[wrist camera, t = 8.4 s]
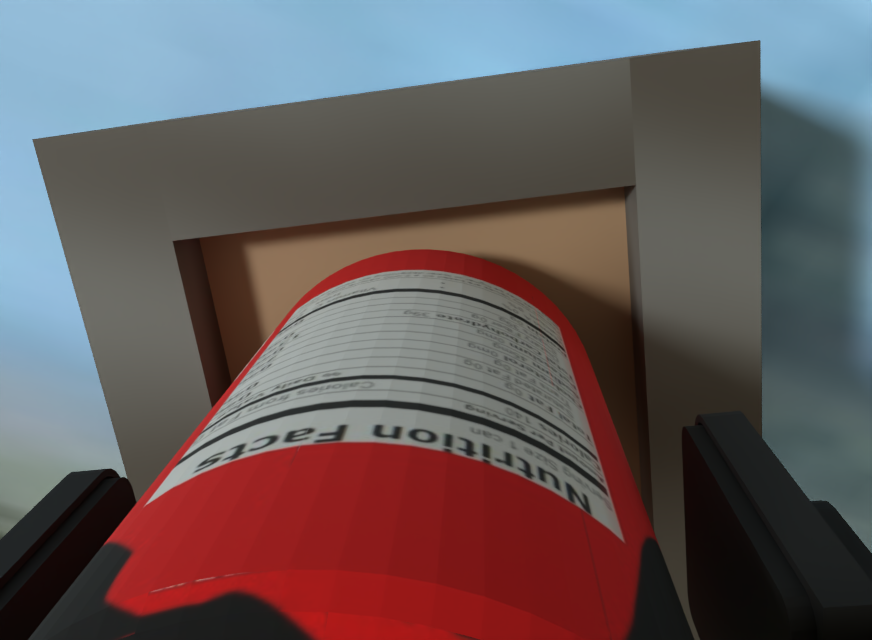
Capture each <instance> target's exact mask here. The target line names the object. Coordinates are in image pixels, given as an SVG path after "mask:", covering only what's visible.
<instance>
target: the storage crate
mask: <svg viewBox="0 0 872 640" xmlns="http://www.w3.org/2000/svg"><path fill="white" fill-rule="evenodd" d="M32 140H33V143H34V147H35V150H36V154H37V157H38V161H39V165H40V168H41V172H42V175H43V179H44V182H45V186H46V190H47V193H48V197H49V200H50V204H51V207H52V211H53V214H54V218H55V222H56V225H57V229H58V232H59V236H60V239H61V243H62V246H63V250H64V254H65V257H66V261H67V264H68V268H69V271H70V275H71V279H72V282H73V286H74V289H75V293H76V296H77V300H78V303H79V307H80V311H81V314H82V318H83V321H84V325H85V328H86V332H87V335H88V339H89V343H90V346H91V350H92V353H93V357H94V360H95V364H96V368H97V371H98V375H99V378H100V382H101V385H102V389H103V392H104V396H105V400H106V403H107V407H108V410H109V414H110V417H111V421H112V424H113V428H114V432H115V435H116V439H117V442H118V446H119V449H120V453H121V457H122V460H123V464H124V467H125V471H126V474H127V478H128V480H129V482H130V483H131V486H132V488H133V492H134V495H135V499H136V502H138V501H139V500H140V498H141V497H142V496H143V495H144V493H145V492H146V491H147V490H148V488H149V487H150V486H151V484H152V483H153V482H154V481H155V479H156V478H157V477H158V476H159V474H160V473H161V472H162V471H163V469H164V468H165V467H166V466H167V464H168V463H169V462H170V461H171V459H172V458H173V457H174V456H175V454H176V453H177V452H178V451H179V449H180V448H181V447H182V446H183V444H184V443H185V442H186V441H187V439H188V438H189V437H190V436H191V434H192V433H193V432H194V431H195V429H196V428H197V427H198V426H199V424H200V423H201V422H202V421H203V419H204V418H205V417H206V416H207V414H208V413H209V412H210V410H211V409H212V408H213V407H214V405H215V404H216V403H217V402H218V400H219V399H220V398H221V397H222V395H223V394H224V393H225V392H226V390H227V389H228V388H229V387H230V385H231V384H232V383H233V382H234V380H235V379H236V378H237V377H238V375H239V374H240V373H241V372H242V370H243V369H244V368H245V367H246V365H247V364H248V363H249V362H250V360H251V359H252V358H253V357H254V355H255V354H256V353H257V352H258V350H259V349H260V348H261V347H262V345H263V344H264V343H265V342H266V340H267V339H268V338H269V336H270V335H271V334H272V333H273V331H274V330H275V329H276V328H277V326H278V325H279V324H280V323H281V321H282V320H283V319H284V318H285V316H286V315H287V314H288V313H289V311H290V310H291V309H292V308H293V307H294V306H295V304H296V303H297V302H298V301H299V300H300V299H301V298H302V297H303V296H304V295H305V294H306V293H307V292H309V291H310V290H311V289H312V288H313V287H314V286H315V285H317V284H318V283H320V282H321V281H323V280H324V279H325V278H327V277H328V276H330V275H331V274H333V273H335V272H337V271H339V270H340V269H342V268H344V267H346V266H349V265H351V264H353V263H355V262H358V261H360V260H363V259H366V258H370V257H373V256H376V255H380V254H385V253H389V252H394V251H403V250H414V249H432V250H444V251H452V252H457V253H463V254H467V255H471V256H474V257H478V258H481V259H484V260H487V261H489V262H492V263H494V264H497V265H499V266H501V267H503V268H505V269H507V270H509V271H511V272H513V273H515V274H517V275H518V276H520V277H521V278H523V279H525V280H526V281H528V282H529V283H531V284H532V285H533V286H534V287H536V288H537V289H538V290H540V291H541V292H542V293H543V294H544V295H545V296H547V297H548V298H549V299H550V300H551V301H552V302H553V303H554V304H555V305H556V306H557V307H558V309H559V310H560V311H561V312H562V313H563V315H564V316H565V317H566V318H567V320H568V321H569V322H570V324H571V325H572V327H573V328H574V330H575V331H576V333H577V335H578V337H579V338H580V340H581V342H582V344H583V346H584V348H585V350H586V353H587V355H588V358H589V360H590V363H591V365H592V368H593V371H594V373H595V376H596V379H597V381H598V384H599V387H600V389H601V392H602V395H603V397H604V400H605V403H606V405H607V408H608V411H609V413H610V416H611V419H612V421H613V424H614V427H615V429H616V432H617V435H618V437H619V440H620V443H621V445H622V448H623V451H624V453H625V456H626V459H627V461H628V464H629V467H630V469H631V472H632V475H633V477H634V480H635V483H636V485H637V488H638V491H639V493H640V496H641V499H642V501H643V504H644V507H645V509H646V512H647V515H648V517H649V520H650V523H651V525H652V528H653V531H654V533H655V536H656V538H657V541H658V544H659V546H660V549H661V552H662V554H663V557H664V560H665V562H666V565H667V568H668V570H669V573H670V576H671V578H672V581H673V584H674V586H675V589H676V592H677V594H678V597H679V600H680V602H681V605H682V608H683V610H684V613H685V616H686V618H687V621H688V624H689V626H690V629H691V632H692V634H693V637H694V640H700V638H699V636H698V633H697V630H696V628H695V625H694V623H693V619H692V616H691V612H690V607H689V601H688V592H687V568H686V541H685V515H684V488H683V462H682V428H683V427H684V426H695V420H696V417H697V415H699V414H710V413H721V412H732V411H741V412H742V413H743V414H744V415H745V417H746V418H747V419H748V420H749V422H750V423H751V424H752V426H753V427H754V428H755V430H756V431H757V432H758V434H759V435H760V436H761V437H762V355H761V92H760V40H759V41H751V42H742V43H734V44H726V45H717V46H709V47H701V48H693V49H684V50H676V51H668V52H660V53H653V54H646V55H638V56H631V57H624V58H616V59H609V60H602V61H594V62H587V63H580V64H572V65H565V66H558V67H550V68H543V69H536V70H528V71H521V72H514V73H506V74H499V75H492V76H484V77H477V78H470V79H462V80H455V81H448V82H440V83H433V84H426V85H418V86H411V87H404V88H396V89H389V90H382V91H374V92H367V93H360V94H352V95H345V96H338V97H331V98H323V99H316V100H309V101H301V102H294V103H287V104H279V105H272V106H265V107H257V108H250V109H243V110H235V111H228V112H221V113H213V114H206V115H199V116H191V117H184V118H177V119H169V120H163V121H156V122H149V123H142V124H135V125H128V126H121V127H115V128H108V129H101V130H94V131H87V132H80V133H73V134H67V135H60V136H53V137H46V138H39V139H32Z"/></svg>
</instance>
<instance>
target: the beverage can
mask: <svg viewBox="0 0 872 640" xmlns="http://www.w3.org/2000/svg"><path fill="white" fill-rule="evenodd" d="M28 640H694V637H693V634H692V632H691V629H690V626H689V624H688V621H687V618H686V616H685V613H684V610H683V608H682V605H681V602H680V600H679V597H678V594H677V592H676V589H675V586H674V584H673V581H672V578H671V576H670V573H669V570H668V568H667V565H666V562H665V560H664V557H663V554H662V552H661V549H660V546H659V544H658V541H657V538H656V536H655V533H654V531H653V528H652V525H651V523H650V520H649V517H648V515H647V512H646V509H645V507H644V504H643V501H642V499H641V496H640V493H639V491H638V488H637V485H636V483H635V480H634V477H633V475H632V472H631V469H630V467H629V464H628V461H627V459H626V456H625V453H624V451H623V448H622V445H621V443H620V440H619V437H618V435H617V432H616V429H615V427H614V424H613V421H612V419H611V416H610V413H609V411H608V408H607V405H606V403H605V400H604V397H603V395H602V392H601V389H600V387H599V384H598V381H597V379H596V376H595V373H594V371H593V368H592V365H591V363H590V360H589V358H588V355H587V353H586V350H585V348H584V346H583V344H582V342H581V340H580V338H579V337H578V335H577V333H576V331H575V330H574V328H573V327H572V325H571V324H570V322H569V321H568V320H567V318H566V317H565V316H564V315H563V313H562V312H561V311H560V310H559V309H558V307H557V306H556V305H555V304H554V303H553V302H552V301H551V300H550V299H549V298H548V297H547V296H545V295H544V294H543V293H542V292H541V291H540V290H538V289H537V288H536V287H534V286H533V285H532V284H531V283H529V282H528V281H526V280H525V279H523V278H521V277H520V276H518V275H517V274H515V273H513V272H511V271H509V270H507V269H505V268H503V267H501V266H499V265H497V264H494V263H492V262H489V261H487V260H484V259H481V258H478V257H474V256H471V255H467V254H463V253H457V252H452V251H444V250H432V249H414V250H403V251H394V252H389V253H385V254H380V255H376V256H373V257H370V258H366V259H363V260H360V261H358V262H355V263H353V264H351V265H349V266H346V267H344V268H342V269H340V270H339V271H337V272H335V273H333V274H331V275H330V276H328V277H327V278H325V279H324V280H323V281H321V282H320V283H318V284H317V285H315V286H314V287H313V288H312V289H311V290H310V291H309V292H307V293H306V294H305V295H304V296H303V297H302V298H301V299H300V300H299V301H298V302H297V303H296V304H295V306H294V307H293V308H292V309H291V310H290V311H289V313H288V314H287V315H286V316H285V318H284V319H283V320H282V321H281V323H280V324H279V325H278V326H277V328H276V329H275V330H274V331H273V333H272V334H271V335H270V336H269V338H268V339H267V340H266V342H265V343H264V344H263V345H262V347H261V348H260V349H259V350H258V352H257V353H256V354H255V355H254V357H253V358H252V359H251V360H250V362H249V363H248V364H247V365H246V367H245V368H244V369H243V370H242V372H241V373H240V374H239V375H238V377H237V378H236V379H235V380H234V382H233V383H232V384H231V385H230V387H229V388H228V389H227V390H226V392H225V393H224V394H223V395H222V397H221V398H220V399H219V400H218V402H217V403H216V404H215V405H214V407H213V408H212V409H211V410H210V412H209V413H208V414H207V416H206V417H205V418H204V419H203V421H202V422H201V423H200V424H199V426H198V427H197V428H196V429H195V431H194V432H193V433H192V434H191V436H190V437H189V438H188V439H187V441H186V442H185V443H184V444H183V446H182V447H181V448H180V449H179V451H178V452H177V453H176V454H175V456H174V457H173V458H172V459H171V461H170V462H169V463H168V464H167V466H166V467H165V468H164V469H163V471H162V472H161V473H160V474H159V476H158V477H157V478H156V479H155V481H154V482H153V483H152V484H151V486H150V487H149V488H148V490H147V491H146V492H145V493H144V495H143V496H142V497H141V498H140V500H139V501H138V502H137V503H136V505H135V506H134V507H133V508H132V510H131V511H130V512H129V513H128V515H127V516H126V517H125V518H124V520H123V521H122V522H121V523H120V525H119V526H118V527H117V528H116V530H115V531H114V532H113V533H112V535H111V536H110V537H109V538H108V540H107V541H106V542H105V543H104V545H103V546H102V547H101V548H100V550H99V551H98V552H97V553H96V555H95V556H94V557H93V558H92V560H91V561H90V562H89V564H88V565H87V566H86V567H85V569H84V570H83V571H82V572H81V574H80V575H79V576H78V577H77V579H76V580H75V581H74V582H73V584H72V585H71V586H70V587H69V589H68V590H67V591H66V592H65V594H64V595H63V596H62V597H61V599H60V600H59V601H58V602H57V604H56V605H55V606H54V607H53V609H52V610H51V611H50V612H49V614H48V615H47V616H46V617H45V619H44V620H43V621H42V622H41V624H40V625H39V626H38V627H37V629H36V630H35V631H34V632H33V634H32V635H31V636H30V638H29V639H28Z"/></svg>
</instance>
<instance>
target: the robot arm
mask: <svg viewBox="0 0 872 640" xmlns="http://www.w3.org/2000/svg"><path fill="white" fill-rule="evenodd" d="M682 462H683V488H684V515H685V541H686V568H687V592H688V601H689V607H690V612H691V616H692V619H693V623H694V625H695V628H696V630H697V633H698V636H699V638H700V640H872V553H871V552H870V551H869V550H868V548H867V547H866V546H865V545H864V544H863V542H862V541H861V540H860V539H859V537H858V536H857V535H856V534H855V532H854V531H853V530H852V529H851V527H850V526H849V525H848V524H847V522H846V521H845V520H844V519H843V518H842V516H841V515H840V514H839V513H838V511H837V510H836V509H835V508H834V507H833V506H832V505H831V504H830V503H829V502H827V501H810V500H809V499H808V498H807V496H806V495H805V494H804V492H803V491H802V490H801V488H800V487H799V486H798V485H797V483H796V482H795V481H794V479H793V478H792V477H791V475H790V474H789V473H788V471H787V470H786V469H785V468H784V466H783V465H782V464H781V462H780V461H779V460H778V458H777V457H776V456H775V454H774V453H773V452H772V451H771V449H770V448H769V447H768V445H767V444H766V443H765V441H764V440H763V439H762V437H761V436H760V435H759V434H758V432H757V431H756V430H755V428H754V427H753V426H752V424H751V423H750V422H749V420H748V419H747V418H746V417H745V415H744V414H743V413H742V412H741V411H732V412H721V413H710V414H699V415H697V417H696V420H695V426H684V427H683V428H682ZM136 503H137V502H136V499H135V495H134V492H133V488H132V486H131V483H130V482H129V480H128V479H126V478H125V477H122V478H120V476H119V475H118V473H117V472H116V471H115V470H113V469H101V470H90V471H80V472H71V473H70V474H68V475H67V476H66V477H65V478H64V479H63V480H62V481H61V482H60V483H59V484H58V485H56V486H55V487H54V488H53V489H52V490H51V491H50V492H49V493H48V494H47V495H46V496H45V497H44V498H43V499H42V500H41V501H40V502H39V503H38V504H37V505H36V506H35V507H34V508H33V509H32V510H31V511H30V512H29V513H28V514H27V515H25V516H24V517H23V518H22V519H21V520H20V521H19V522H18V523H17V524H16V525H15V526H14V527H13V528H12V529H11V530H10V531H9V532H8V533H7V534H6V535H5V536H4V537H3V538H2V539H1V540H0V640H28V639H29V638H30V636H31V635H32V634H33V632H34V631H35V630H36V629H37V627H38V626H39V625H40V624H41V622H42V621H43V620H44V619H45V617H46V616H47V615H48V614H49V612H50V611H51V610H52V609H53V607H54V606H55V605H56V604H57V602H58V601H59V600H60V599H61V597H62V596H63V595H64V594H65V592H66V591H67V590H68V589H69V587H70V586H71V585H72V584H73V582H74V581H75V580H76V579H77V577H78V576H79V575H80V574H81V572H82V571H83V570H84V569H85V567H86V566H87V565H88V564H89V562H90V561H91V560H92V558H93V557H94V556H95V555H96V553H97V552H98V551H99V550H100V548H101V547H102V546H103V545H104V543H105V542H106V541H107V540H108V538H109V537H110V536H111V535H112V533H113V532H114V531H115V530H116V528H117V527H118V526H119V525H120V523H121V522H122V521H123V520H124V518H125V517H126V516H127V515H128V513H129V512H130V511H131V510H132V508H133V507H134V506H135V505H136Z"/></svg>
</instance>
